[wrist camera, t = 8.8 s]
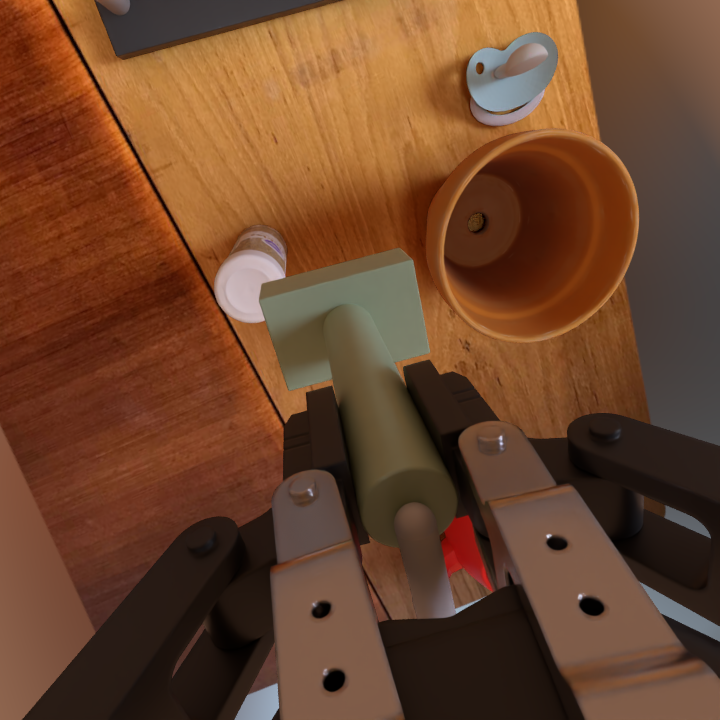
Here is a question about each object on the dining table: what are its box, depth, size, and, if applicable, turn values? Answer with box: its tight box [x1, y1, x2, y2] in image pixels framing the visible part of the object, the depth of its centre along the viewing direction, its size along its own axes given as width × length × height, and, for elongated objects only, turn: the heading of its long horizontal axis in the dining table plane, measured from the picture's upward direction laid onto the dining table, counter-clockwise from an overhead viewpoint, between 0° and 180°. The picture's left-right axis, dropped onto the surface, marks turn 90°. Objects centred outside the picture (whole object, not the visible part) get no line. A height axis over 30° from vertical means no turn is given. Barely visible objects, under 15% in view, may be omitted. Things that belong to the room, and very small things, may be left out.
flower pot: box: [426, 128, 639, 343], centre depth 39 cm, size 14×14×13 cm
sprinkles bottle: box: [214, 225, 287, 323], centre depth 37 cm, size 5×5×13 cm
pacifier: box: [466, 32, 558, 126], centre depth 38 cm, size 7×6×6 cm
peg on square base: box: [259, 248, 459, 619], centre depth 16 cm, size 6×7×15 cm
